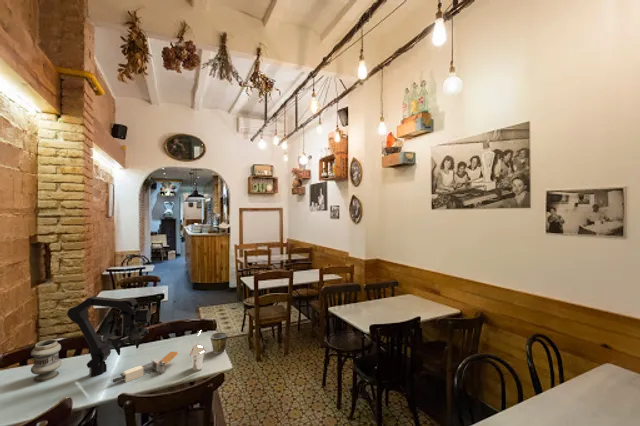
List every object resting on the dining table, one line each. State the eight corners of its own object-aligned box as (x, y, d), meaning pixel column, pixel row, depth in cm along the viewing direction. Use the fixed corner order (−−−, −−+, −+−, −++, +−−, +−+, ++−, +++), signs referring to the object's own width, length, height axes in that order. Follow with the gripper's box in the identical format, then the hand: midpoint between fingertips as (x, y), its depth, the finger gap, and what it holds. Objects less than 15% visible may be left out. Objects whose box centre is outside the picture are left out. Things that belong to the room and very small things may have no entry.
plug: (114, 386, 148) (114, 378, 148) (111, 383, 150) (111, 375, 150) (143, 375, 158) (143, 367, 158) (140, 372, 161) (140, 365, 161)
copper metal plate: (157, 366, 159) (157, 362, 159) (170, 354, 173) (170, 351, 173) (164, 366, 159) (164, 363, 159) (177, 354, 172) (177, 351, 172)
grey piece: (133, 388, 148) (133, 378, 148) (119, 376, 159) (119, 366, 159) (166, 374, 161) (166, 365, 161) (151, 364, 172) (151, 355, 172)
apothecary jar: (24, 384, 151) (24, 348, 151) (39, 372, 163) (39, 338, 163) (53, 381, 154) (53, 345, 154) (66, 369, 166) (66, 336, 166)
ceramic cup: (209, 349, 190) (209, 333, 190) (226, 346, 194) (226, 331, 194) (211, 358, 178) (211, 341, 178) (229, 355, 182) (229, 338, 182)
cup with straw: (185, 372, 163) (185, 334, 163) (198, 364, 172) (198, 329, 172) (197, 375, 160) (197, 337, 160) (210, 367, 168) (210, 331, 168)
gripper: (118, 331, 150) (117, 363, 150) (154, 319, 166) (154, 348, 166) (106, 327, 155) (105, 357, 155) (142, 316, 171) (142, 343, 172)
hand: (128, 351), depth 162 cm, fingers open, 9 cm apart
